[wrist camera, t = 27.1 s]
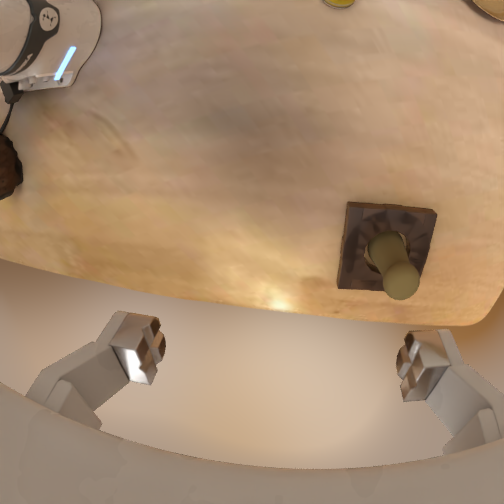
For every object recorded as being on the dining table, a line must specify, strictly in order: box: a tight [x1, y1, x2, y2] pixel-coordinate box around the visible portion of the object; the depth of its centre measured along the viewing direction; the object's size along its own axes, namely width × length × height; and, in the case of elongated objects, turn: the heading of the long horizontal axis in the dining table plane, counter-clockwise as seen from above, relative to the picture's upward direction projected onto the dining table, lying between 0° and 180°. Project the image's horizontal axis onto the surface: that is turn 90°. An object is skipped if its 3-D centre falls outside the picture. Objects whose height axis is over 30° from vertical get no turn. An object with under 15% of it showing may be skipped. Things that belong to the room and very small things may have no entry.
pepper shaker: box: [368, 231, 420, 300], centre depth 39 cm, size 6×6×11 cm
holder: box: [337, 202, 437, 291], centre depth 43 cm, size 14×14×2 cm
